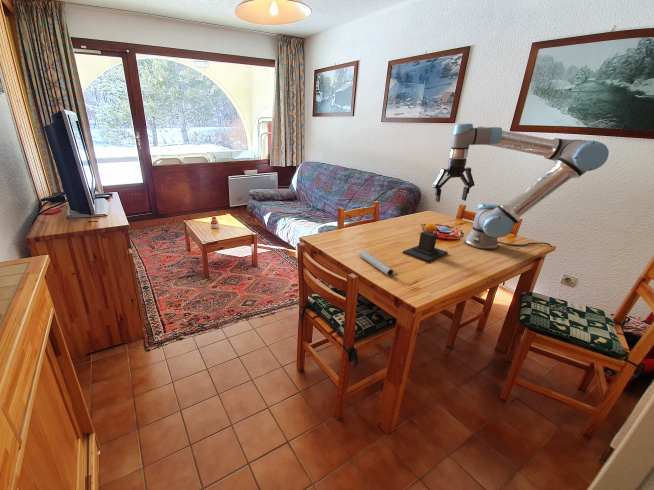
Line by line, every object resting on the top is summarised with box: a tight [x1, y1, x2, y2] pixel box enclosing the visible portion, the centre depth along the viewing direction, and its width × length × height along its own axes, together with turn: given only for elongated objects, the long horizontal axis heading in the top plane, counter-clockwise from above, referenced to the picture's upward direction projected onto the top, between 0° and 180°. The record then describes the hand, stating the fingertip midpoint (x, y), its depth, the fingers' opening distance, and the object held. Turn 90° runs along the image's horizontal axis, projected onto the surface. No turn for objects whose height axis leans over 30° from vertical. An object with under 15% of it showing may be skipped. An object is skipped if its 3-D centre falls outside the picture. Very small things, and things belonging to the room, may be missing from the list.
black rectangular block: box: [417, 230, 438, 253], centre depth 158 cm, size 5×6×10 cm
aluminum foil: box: [358, 250, 397, 277], centre depth 147 cm, size 23×7×3 cm, turn 19°
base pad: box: [402, 245, 449, 263], centre depth 160 cm, size 18×14×3 cm
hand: (450, 200), depth 158 cm, fingers open, 13 cm apart
